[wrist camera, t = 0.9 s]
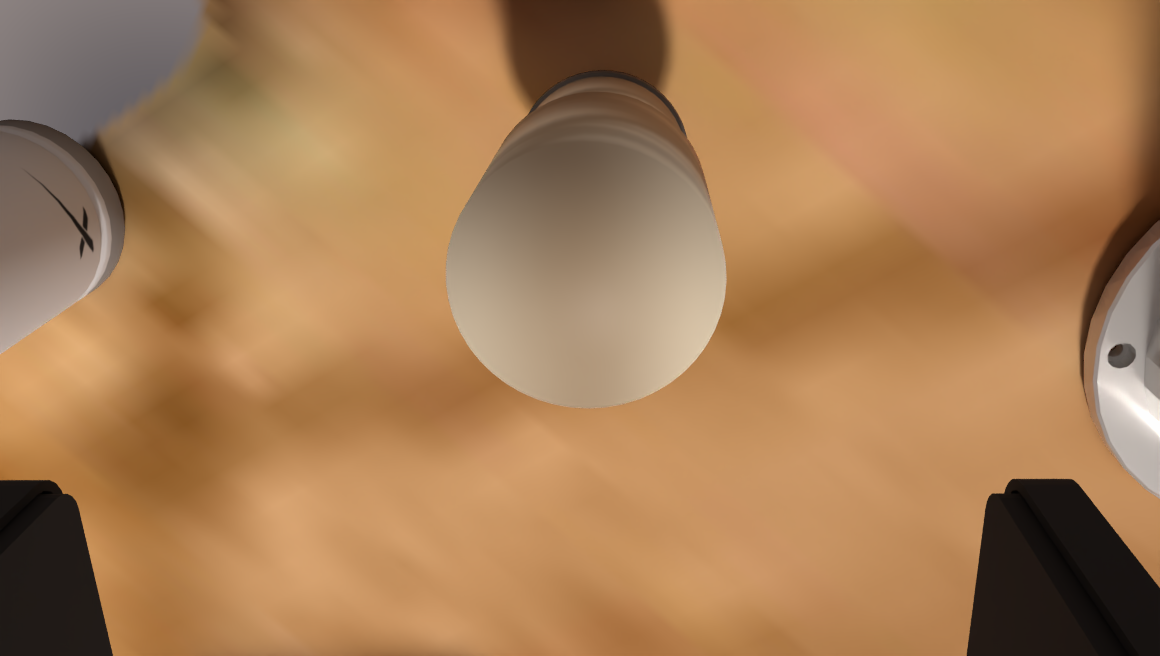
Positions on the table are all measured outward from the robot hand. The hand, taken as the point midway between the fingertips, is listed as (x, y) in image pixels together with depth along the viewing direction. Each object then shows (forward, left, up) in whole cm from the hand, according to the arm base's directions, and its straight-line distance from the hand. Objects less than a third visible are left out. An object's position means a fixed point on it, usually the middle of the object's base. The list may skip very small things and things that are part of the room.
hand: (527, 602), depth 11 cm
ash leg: (0, 0, -24) cm, 24 cm away
